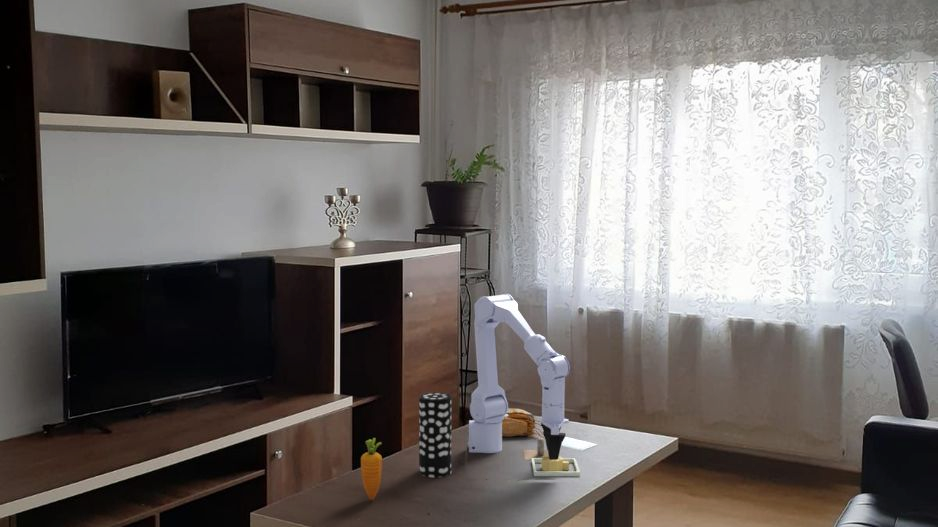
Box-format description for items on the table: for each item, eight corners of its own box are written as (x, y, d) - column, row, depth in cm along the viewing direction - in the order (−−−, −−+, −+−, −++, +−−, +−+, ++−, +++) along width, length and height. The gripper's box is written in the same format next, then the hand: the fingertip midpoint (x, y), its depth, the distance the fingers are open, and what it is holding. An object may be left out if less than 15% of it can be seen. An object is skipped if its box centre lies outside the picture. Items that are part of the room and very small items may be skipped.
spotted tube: (447, 478, 235) (447, 400, 233) (415, 476, 237) (415, 399, 235) (454, 468, 243) (454, 393, 241) (423, 466, 245) (423, 391, 243)
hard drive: (546, 441, 265) (582, 449, 256) (563, 435, 271) (599, 443, 262) (546, 447, 265) (582, 455, 256) (563, 441, 271) (599, 449, 262)
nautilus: (559, 442, 270) (522, 454, 260) (507, 422, 285) (471, 434, 275) (559, 415, 268) (523, 427, 258) (507, 398, 284) (471, 408, 274)
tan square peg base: (524, 462, 248) (524, 443, 248) (523, 452, 257) (523, 434, 257) (558, 462, 248) (558, 443, 248) (555, 452, 257) (555, 434, 257)
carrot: (371, 495, 223) (371, 433, 221) (386, 499, 220) (386, 437, 218) (356, 500, 219) (356, 438, 217) (371, 505, 216) (371, 442, 214)
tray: (534, 478, 235) (534, 471, 235) (531, 464, 247) (531, 458, 246) (580, 479, 235) (580, 472, 235) (575, 464, 246) (575, 458, 246)
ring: (569, 472, 238) (569, 461, 238) (542, 472, 238) (542, 461, 238) (567, 466, 243) (567, 455, 243) (541, 466, 243) (541, 455, 243)
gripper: (571, 410, 232) (570, 463, 233) (566, 396, 246) (565, 446, 247) (543, 410, 232) (542, 463, 233) (539, 396, 246) (538, 446, 248)
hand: (552, 454), depth 240 cm, fingers open, 7 cm apart
